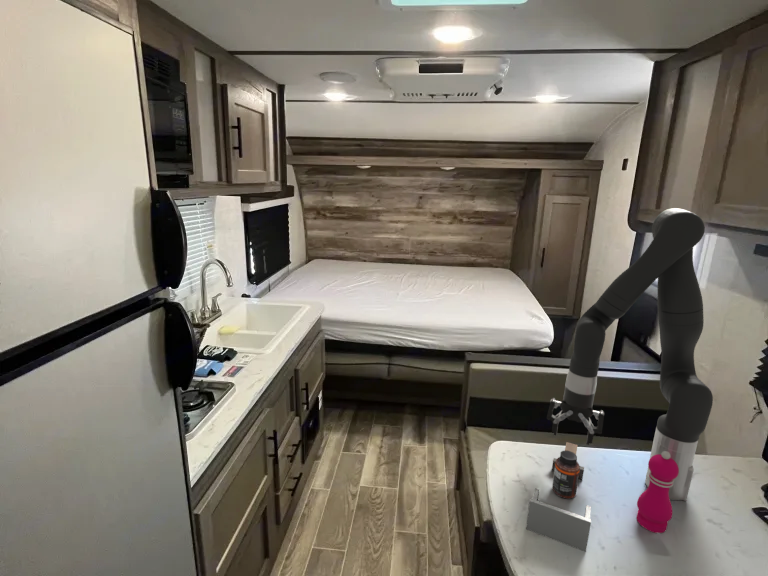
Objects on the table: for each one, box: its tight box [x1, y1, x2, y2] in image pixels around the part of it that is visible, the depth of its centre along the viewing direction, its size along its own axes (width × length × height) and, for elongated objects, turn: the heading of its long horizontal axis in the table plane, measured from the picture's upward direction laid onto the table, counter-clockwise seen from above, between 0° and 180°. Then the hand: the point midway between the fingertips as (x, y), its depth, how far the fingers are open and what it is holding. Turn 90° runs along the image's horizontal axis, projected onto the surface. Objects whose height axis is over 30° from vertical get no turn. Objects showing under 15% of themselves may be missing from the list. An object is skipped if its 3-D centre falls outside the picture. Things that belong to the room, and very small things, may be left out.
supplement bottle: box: [552, 450, 581, 499], centre depth 113 cm, size 6×6×11 cm
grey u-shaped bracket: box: [525, 488, 592, 552], centre depth 102 cm, size 13×11×8 cm
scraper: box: [551, 441, 585, 482], centre depth 123 cm, size 8×8×6 cm
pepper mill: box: [636, 451, 679, 534], centre depth 102 cm, size 7×7×20 cm
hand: (571, 438), depth 121 cm, fingers open, 8 cm apart
